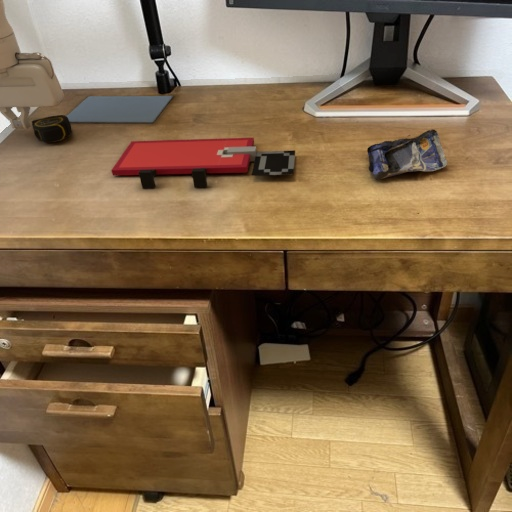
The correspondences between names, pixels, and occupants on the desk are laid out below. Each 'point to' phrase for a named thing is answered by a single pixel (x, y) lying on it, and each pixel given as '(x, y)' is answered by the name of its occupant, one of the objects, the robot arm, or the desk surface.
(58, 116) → the tape measure
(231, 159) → the red board with handle
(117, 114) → the cloth
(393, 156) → the snack package
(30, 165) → the desk surface
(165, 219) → the desk surface
